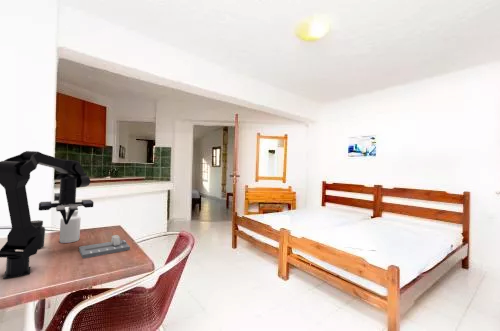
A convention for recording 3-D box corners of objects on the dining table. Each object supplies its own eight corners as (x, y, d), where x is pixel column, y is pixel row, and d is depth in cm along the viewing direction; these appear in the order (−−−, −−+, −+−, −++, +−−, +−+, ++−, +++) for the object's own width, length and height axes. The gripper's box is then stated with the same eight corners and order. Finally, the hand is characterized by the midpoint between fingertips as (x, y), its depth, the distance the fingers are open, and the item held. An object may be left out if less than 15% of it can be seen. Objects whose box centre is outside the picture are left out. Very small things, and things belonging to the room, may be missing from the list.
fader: (119, 245, 109) (120, 237, 109) (113, 246, 107) (114, 238, 107) (117, 242, 113) (117, 234, 113) (111, 243, 111) (111, 235, 111)
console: (129, 249, 109) (130, 244, 109) (82, 258, 97) (83, 252, 97) (122, 242, 118) (123, 237, 118) (78, 250, 106) (79, 244, 106)
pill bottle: (81, 237, 122) (83, 209, 122) (76, 242, 115) (78, 212, 115) (62, 238, 119) (64, 209, 119) (56, 244, 112) (58, 212, 112)
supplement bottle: (31, 251, 101) (33, 223, 101) (19, 249, 102) (20, 222, 103) (48, 246, 108) (49, 220, 108) (36, 244, 109) (37, 219, 109)
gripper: (90, 186, 115) (88, 218, 115) (39, 187, 103) (37, 223, 103) (94, 189, 107) (92, 223, 107) (39, 190, 95) (37, 228, 95)
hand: (66, 224), depth 103 cm, fingers closed
